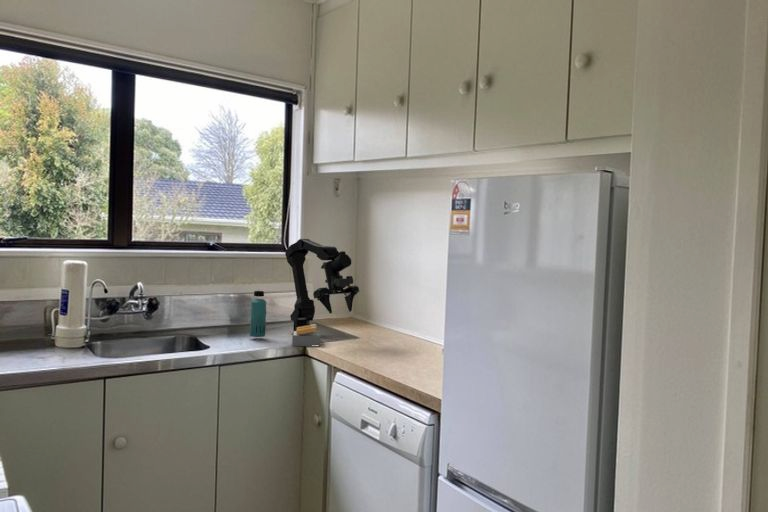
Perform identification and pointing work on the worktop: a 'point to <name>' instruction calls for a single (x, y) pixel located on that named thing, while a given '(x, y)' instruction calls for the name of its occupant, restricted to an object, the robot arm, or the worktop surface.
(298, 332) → the rocker near
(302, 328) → the rocker far
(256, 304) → the beverage bottle
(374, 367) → the worktop surface
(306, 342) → the grey square bin
